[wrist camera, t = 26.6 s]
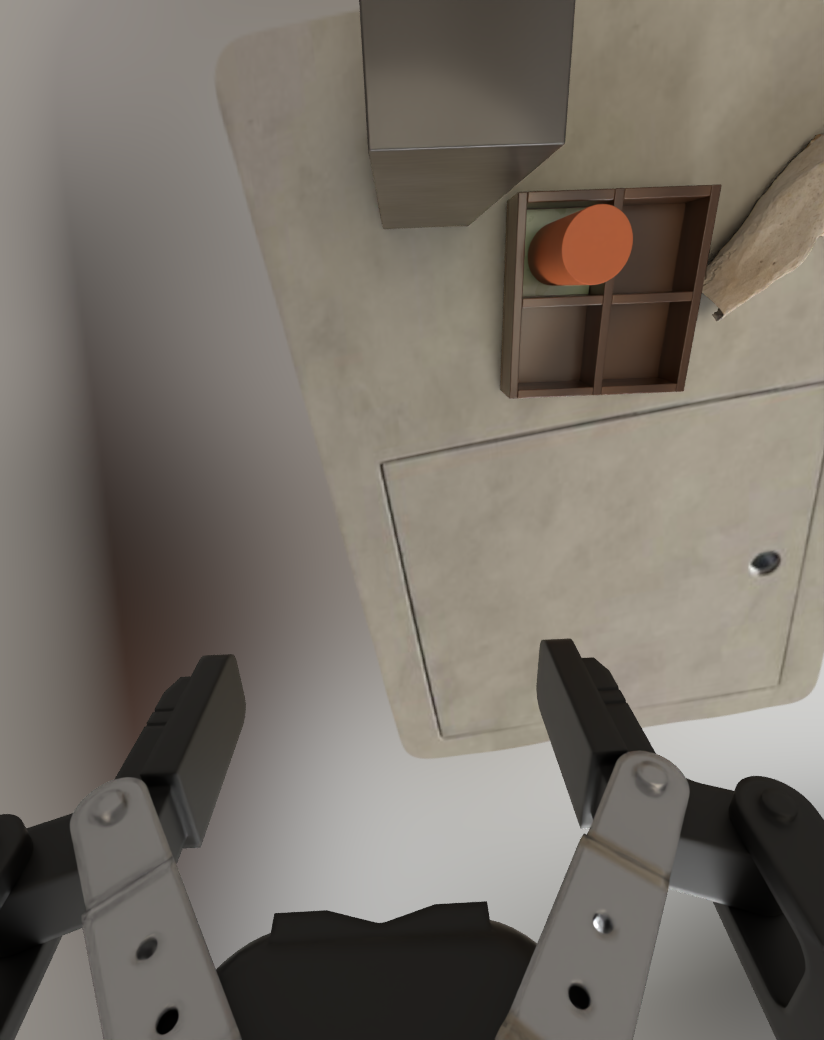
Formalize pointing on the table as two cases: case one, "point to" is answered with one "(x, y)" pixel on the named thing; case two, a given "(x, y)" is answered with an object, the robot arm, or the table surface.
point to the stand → (461, 101)
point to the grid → (607, 297)
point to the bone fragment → (771, 234)
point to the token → (582, 247)
